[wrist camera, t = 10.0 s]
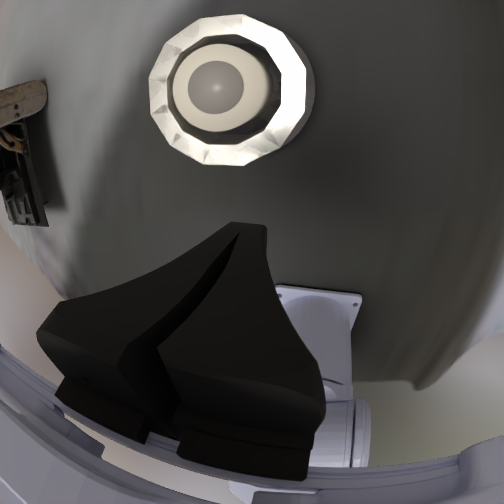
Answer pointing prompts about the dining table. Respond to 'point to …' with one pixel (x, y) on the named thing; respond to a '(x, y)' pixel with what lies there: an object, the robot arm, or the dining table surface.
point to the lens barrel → (255, 130)
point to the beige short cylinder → (222, 87)
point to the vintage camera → (20, 154)
